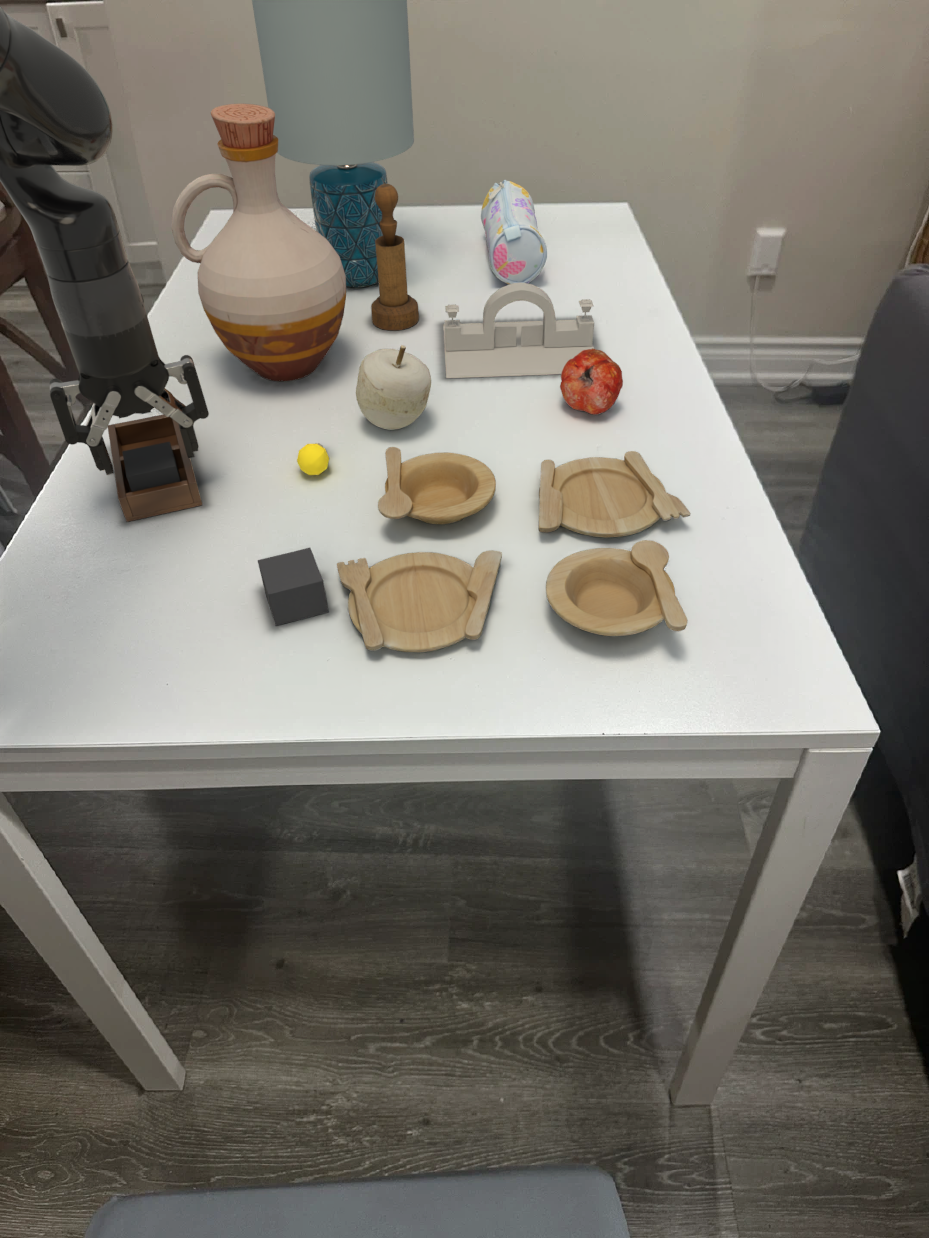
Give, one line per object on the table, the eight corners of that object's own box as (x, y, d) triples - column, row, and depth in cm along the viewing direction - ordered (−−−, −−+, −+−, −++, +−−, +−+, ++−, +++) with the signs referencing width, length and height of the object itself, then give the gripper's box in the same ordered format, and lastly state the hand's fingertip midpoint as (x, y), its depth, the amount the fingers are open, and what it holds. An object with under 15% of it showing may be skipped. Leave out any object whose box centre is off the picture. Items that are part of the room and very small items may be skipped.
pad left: (137, 507, 92) (126, 476, 89) (132, 481, 95) (121, 451, 92) (185, 497, 93) (175, 466, 90) (178, 471, 96) (169, 441, 94)
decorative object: (346, 418, 105) (337, 341, 98) (409, 397, 108) (404, 321, 101) (381, 453, 99) (374, 374, 92) (447, 429, 102) (444, 351, 95)
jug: (191, 404, 108) (120, 137, 86) (218, 336, 120) (162, 89, 99) (349, 400, 107) (316, 133, 86) (359, 333, 120) (333, 86, 99)
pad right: (275, 626, 80) (268, 594, 77) (265, 591, 83) (257, 560, 80) (328, 612, 81) (323, 580, 78) (316, 578, 84) (310, 547, 81)
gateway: (445, 351, 116) (443, 293, 110) (445, 343, 118) (443, 285, 112) (592, 346, 116) (597, 287, 111) (589, 338, 118) (594, 280, 112)
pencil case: (480, 237, 144) (480, 176, 137) (532, 235, 144) (535, 174, 137) (488, 292, 129) (489, 226, 122) (547, 290, 129) (550, 224, 122)
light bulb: (303, 484, 95) (289, 454, 93) (311, 466, 100) (298, 438, 99) (331, 474, 95) (318, 444, 93) (338, 457, 100) (325, 428, 98)
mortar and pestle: (390, 335, 120) (378, 198, 107) (363, 319, 123) (349, 185, 110) (428, 321, 123) (421, 185, 110) (400, 305, 126) (391, 173, 113)
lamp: (306, 252, 141) (265, -38, 114) (425, 252, 140) (411, -39, 113) (284, 304, 127) (232, -10, 100) (415, 305, 126) (397, -12, 100)
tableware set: (668, 465, 97) (674, 434, 94) (725, 658, 76) (734, 625, 73) (354, 470, 97) (350, 438, 94) (325, 663, 76) (319, 631, 73)
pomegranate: (564, 405, 110) (537, 390, 101) (591, 351, 108) (565, 330, 99) (615, 429, 108) (591, 416, 98) (642, 374, 106) (621, 355, 97)
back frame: (126, 522, 91) (118, 499, 89) (115, 447, 101) (107, 425, 99) (202, 505, 93) (196, 482, 91) (183, 433, 103) (177, 411, 101)
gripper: (21, 346, 76) (82, 497, 87) (186, 318, 79) (224, 466, 91) (21, 310, 81) (78, 457, 92) (176, 285, 84) (213, 430, 96)
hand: (150, 461), depth 92 cm, fingers open, 8 cm apart
